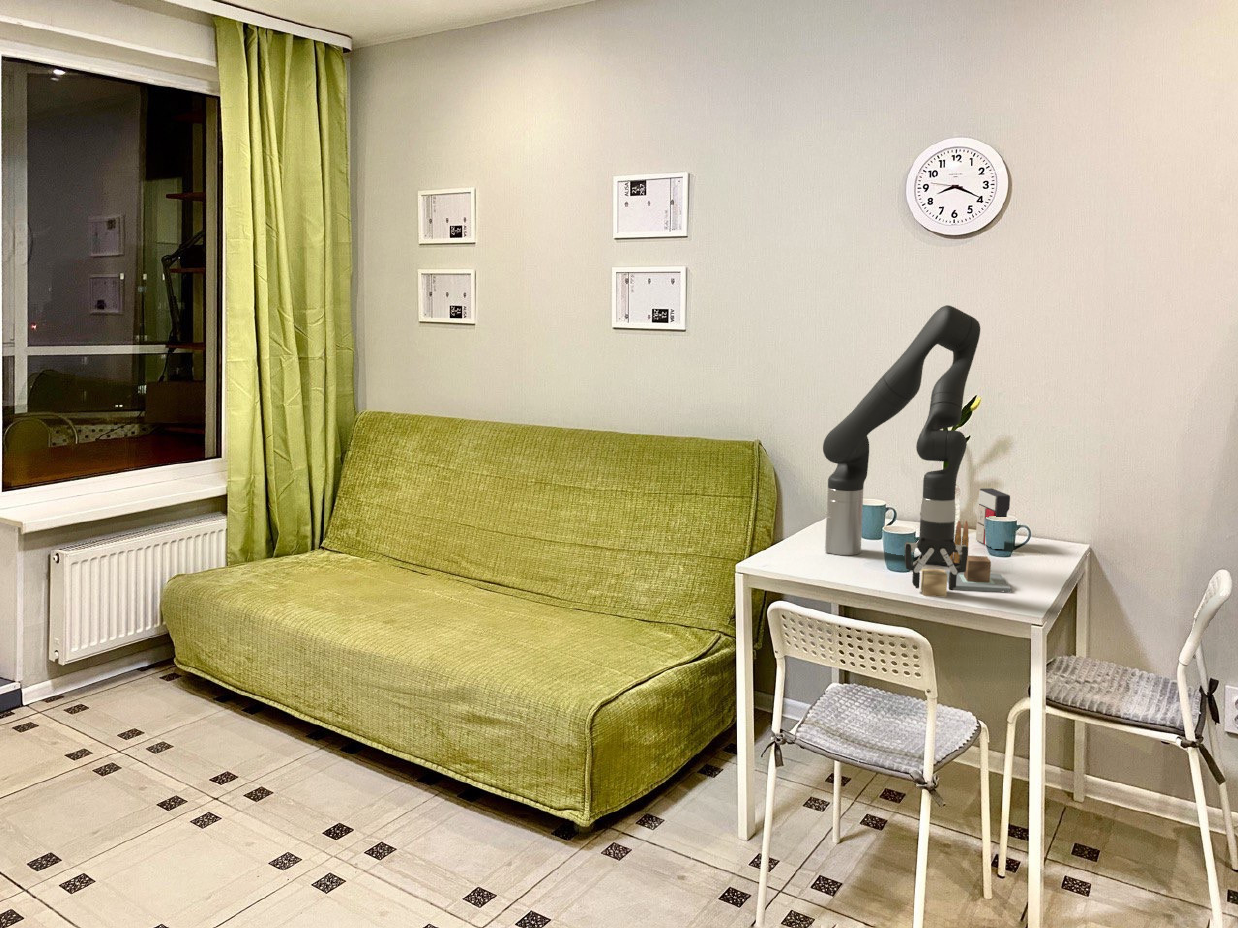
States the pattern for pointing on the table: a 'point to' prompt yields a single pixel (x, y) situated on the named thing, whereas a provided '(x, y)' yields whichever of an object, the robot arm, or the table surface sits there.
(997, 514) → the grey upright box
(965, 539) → the ammunition clip
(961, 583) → the baseplate
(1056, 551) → the table surface
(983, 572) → the walnut block
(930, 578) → the maple block
